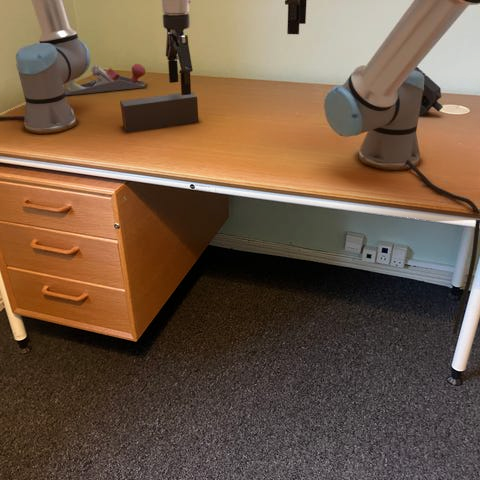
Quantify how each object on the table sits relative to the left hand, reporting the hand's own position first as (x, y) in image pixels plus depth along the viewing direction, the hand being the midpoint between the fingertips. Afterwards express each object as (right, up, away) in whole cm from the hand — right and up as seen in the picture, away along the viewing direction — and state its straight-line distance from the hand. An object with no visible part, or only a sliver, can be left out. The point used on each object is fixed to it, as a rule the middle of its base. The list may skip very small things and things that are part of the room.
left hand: (179, 88), depth 161 cm
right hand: (+32, +6, -29) cm, 44 cm away
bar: (-6, -10, +3) cm, 12 cm away
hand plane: (-32, +10, +37) cm, 50 cm away
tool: (+73, -5, +10) cm, 73 cm away
